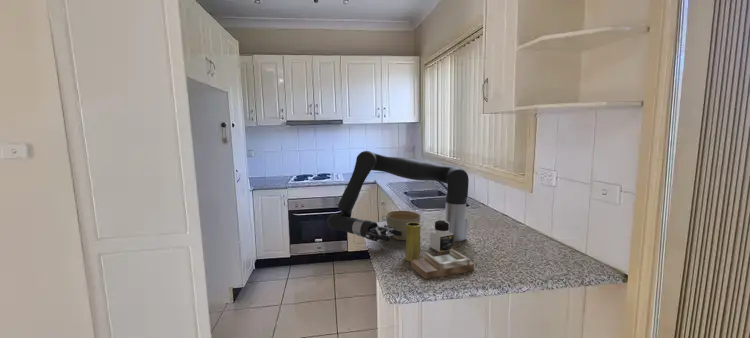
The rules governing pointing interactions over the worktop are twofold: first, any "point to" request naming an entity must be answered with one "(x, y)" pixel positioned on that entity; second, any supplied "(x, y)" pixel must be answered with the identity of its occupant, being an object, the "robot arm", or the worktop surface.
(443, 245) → the medicine bottle
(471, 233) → the worktop surface
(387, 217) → the planter bowl
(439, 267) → the dock
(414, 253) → the vase
